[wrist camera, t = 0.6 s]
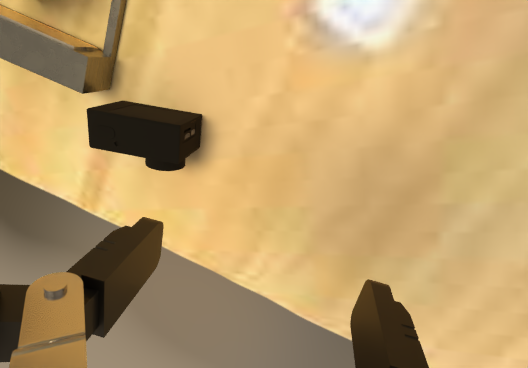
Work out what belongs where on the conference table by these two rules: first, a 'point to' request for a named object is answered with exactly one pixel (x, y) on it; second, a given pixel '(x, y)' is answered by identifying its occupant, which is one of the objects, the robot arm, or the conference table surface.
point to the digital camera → (145, 133)
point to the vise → (61, 50)
